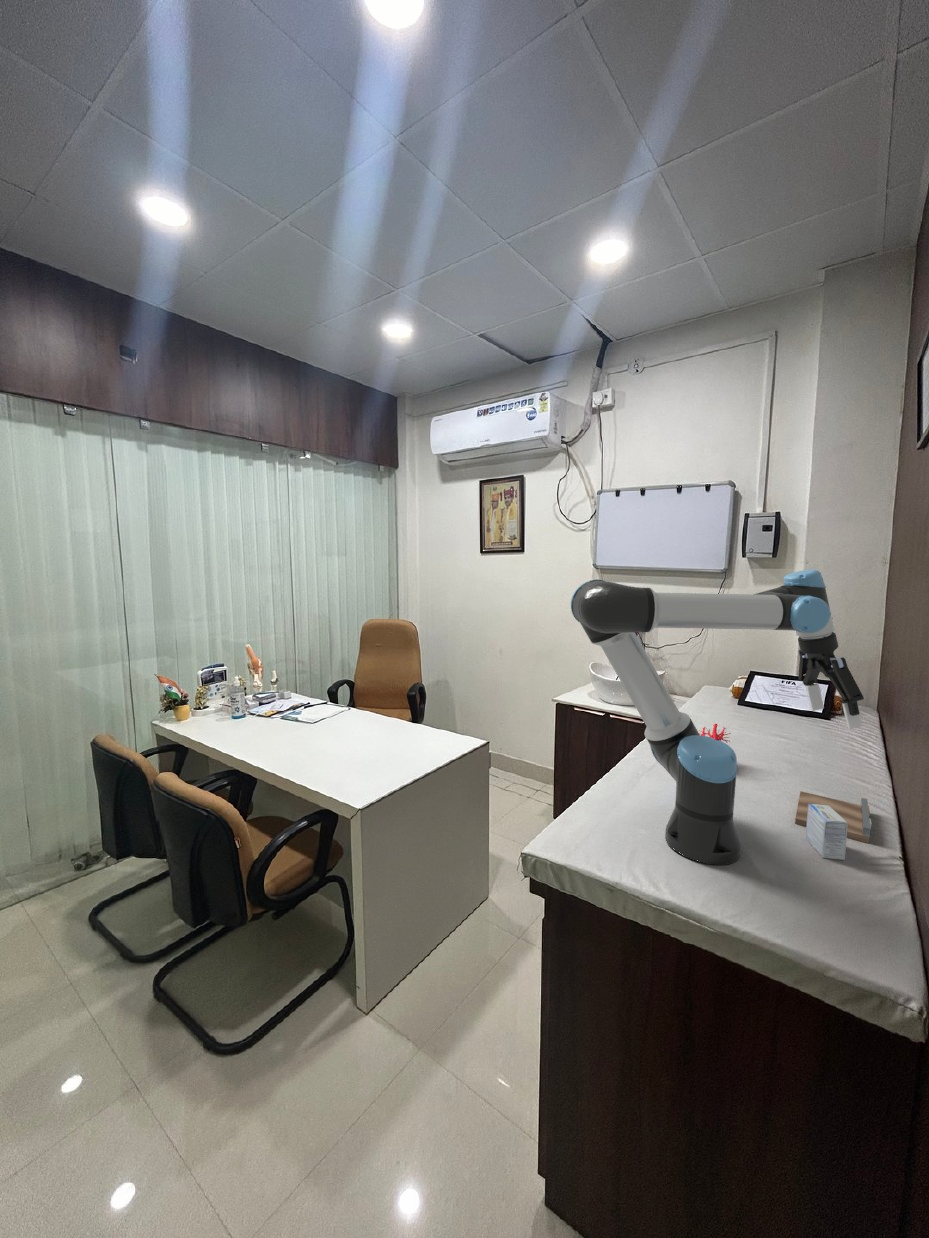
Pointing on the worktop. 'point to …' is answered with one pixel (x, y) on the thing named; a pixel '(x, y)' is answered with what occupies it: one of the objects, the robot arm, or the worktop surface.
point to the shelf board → (848, 811)
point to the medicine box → (826, 831)
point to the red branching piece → (714, 735)
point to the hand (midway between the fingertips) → (835, 717)
